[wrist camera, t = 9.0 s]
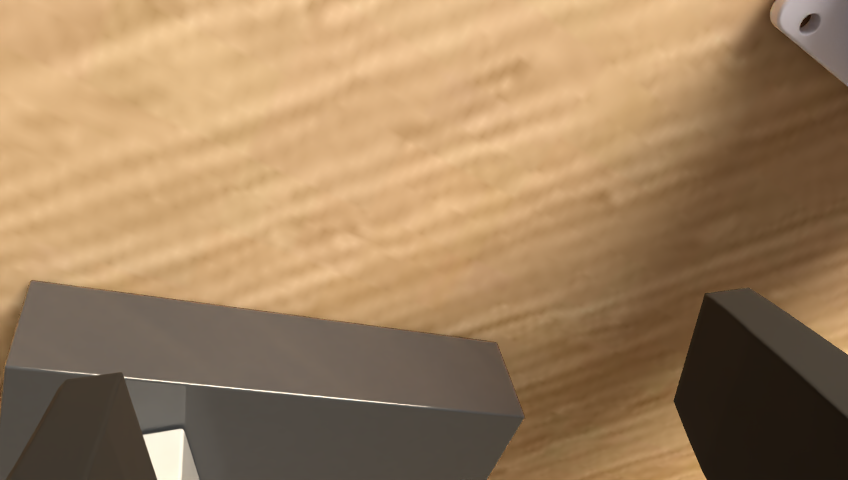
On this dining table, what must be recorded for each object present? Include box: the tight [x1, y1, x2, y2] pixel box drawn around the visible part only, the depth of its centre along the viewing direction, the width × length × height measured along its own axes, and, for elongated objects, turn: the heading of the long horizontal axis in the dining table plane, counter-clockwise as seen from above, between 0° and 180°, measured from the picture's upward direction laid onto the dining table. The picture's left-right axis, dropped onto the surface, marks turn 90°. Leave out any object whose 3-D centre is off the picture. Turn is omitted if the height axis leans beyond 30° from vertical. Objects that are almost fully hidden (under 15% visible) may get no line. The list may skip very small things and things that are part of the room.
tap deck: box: [0, 280, 525, 480], centre depth 23 cm, size 13×10×3 cm
